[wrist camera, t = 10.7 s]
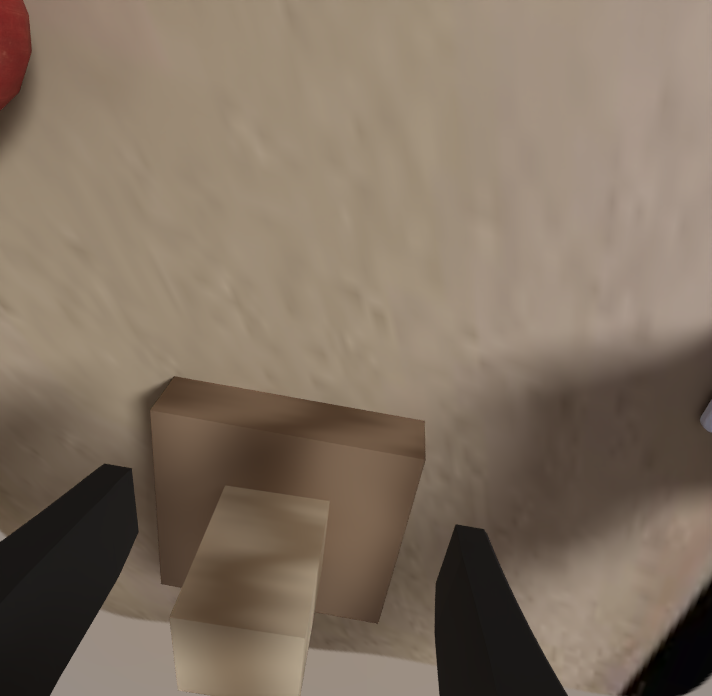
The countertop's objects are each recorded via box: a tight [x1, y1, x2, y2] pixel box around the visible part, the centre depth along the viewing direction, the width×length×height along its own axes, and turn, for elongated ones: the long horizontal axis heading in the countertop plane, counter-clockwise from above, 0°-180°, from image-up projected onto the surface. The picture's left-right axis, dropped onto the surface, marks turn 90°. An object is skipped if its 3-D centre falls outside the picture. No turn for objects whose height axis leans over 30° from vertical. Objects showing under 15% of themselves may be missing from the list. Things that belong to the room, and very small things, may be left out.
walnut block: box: [150, 376, 425, 624], centre depth 25 cm, size 11×11×3 cm
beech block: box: [169, 486, 330, 696], centre depth 21 cm, size 4×4×6 cm
